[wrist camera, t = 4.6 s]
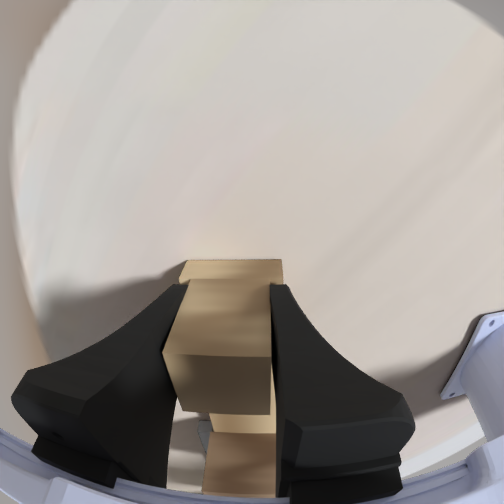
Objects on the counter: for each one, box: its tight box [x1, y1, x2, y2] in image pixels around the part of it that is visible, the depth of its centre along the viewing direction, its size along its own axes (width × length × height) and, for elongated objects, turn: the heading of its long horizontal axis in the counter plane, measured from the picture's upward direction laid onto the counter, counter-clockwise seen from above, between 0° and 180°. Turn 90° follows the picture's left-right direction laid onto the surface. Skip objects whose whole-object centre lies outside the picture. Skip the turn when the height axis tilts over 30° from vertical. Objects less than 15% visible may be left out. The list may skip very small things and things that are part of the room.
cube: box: [202, 431, 276, 498], centre depth 15 cm, size 4×4×4 cm
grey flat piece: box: [197, 420, 214, 454], centre depth 20 cm, size 13×13×2 cm
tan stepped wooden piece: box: [162, 259, 283, 433], centre depth 14 cm, size 4×16×6 cm, turn 2°
